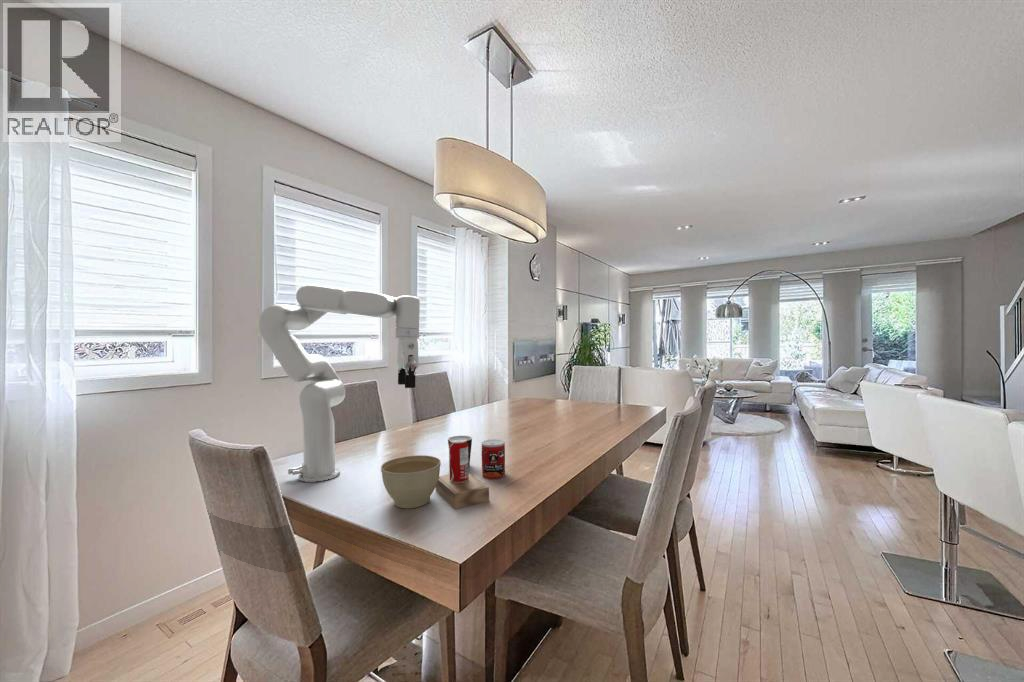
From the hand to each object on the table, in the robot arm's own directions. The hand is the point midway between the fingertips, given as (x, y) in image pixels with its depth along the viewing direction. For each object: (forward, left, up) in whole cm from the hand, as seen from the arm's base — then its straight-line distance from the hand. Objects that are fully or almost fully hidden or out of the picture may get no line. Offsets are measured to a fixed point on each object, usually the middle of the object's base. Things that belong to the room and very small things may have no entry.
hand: (406, 386), depth 136 cm
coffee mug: (+20, +3, -30) cm, 36 cm away
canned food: (+25, -13, -30) cm, 41 cm away
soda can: (+9, -23, -26) cm, 36 cm away
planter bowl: (-5, -21, -30) cm, 37 cm away
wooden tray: (+9, -24, -30) cm, 40 cm away
